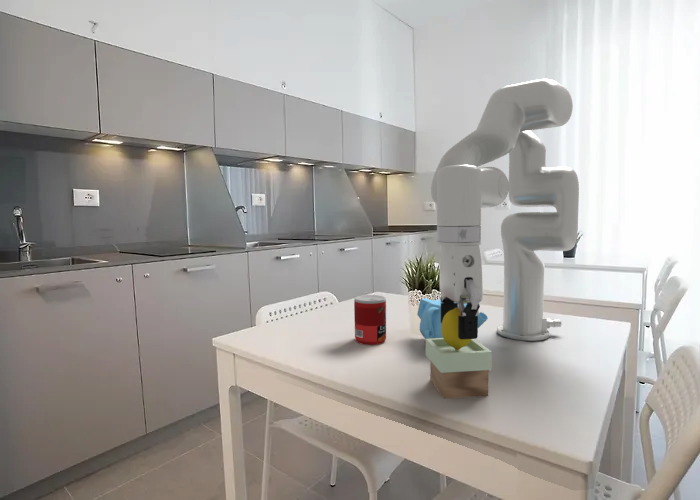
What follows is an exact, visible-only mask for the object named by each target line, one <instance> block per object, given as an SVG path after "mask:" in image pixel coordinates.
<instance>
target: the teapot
mask: <svg viewBox="0 0 700 500" xmlns="http://www.w3.org/2000/svg"><path fill="white" fill-rule="evenodd" d="M454 303H456V302H454ZM466 305H467V304H464V307H466ZM458 308H459V306H458ZM417 317H418V318H419V319H420V322H419V332H420V334H421V335H422V337H423V338H424V339H425V340H426V339H431V338H443V336H442V331H441V327H442V323H441V300H440V299H434V300H432V299H429V298H426V297H423V298H420V299H419V304H418V308H417ZM487 320H488V316H487V314H485V313H484V312H479V315H478V329H479V328H480V327H481V326H483V324H484V323H485V322H487Z"/></svg>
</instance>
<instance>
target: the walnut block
mask: <svg viewBox="0 0 700 500" xmlns="http://www.w3.org/2000/svg"><path fill="white" fill-rule="evenodd" d="M429 365H430V366H429V367H430V369H429V370H430V375H429V377H430V378H429V379H430V382H431V384H432V385H433V386H434V387H435V389H436V390H437V391H438V393H439V394H440V395H441V397H442V398H443V399H458V398H473V397H474V398H475V397H477V398H478V397H489V378H490V377H489V371H490V370H480V371H464V372H447V373H441V372H440V371H439V370H438V369H437V368H436V366H435V365H434V364H433V363H432V362H431V361H430V363H429Z"/></svg>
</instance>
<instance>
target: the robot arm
mask: <svg viewBox="0 0 700 500" xmlns="http://www.w3.org/2000/svg"><path fill="white" fill-rule="evenodd" d="M572 114H573V99H572V95H571V94H570V91H569V90H568V88H566V87H565V86H563V85H562V84H560V83H559V82H557V81H556V80H553V79H550V78H549V79H548V78H541V79H535V80H530V81H526V82H520V83H516V84H511V85H506V86H503V87H500V88H499V89H497V90H495V91H494V92H493V93H492V95H491V96H490V98H489V100H488V101H487V103H486V107H485V108H484V110H483V113H482V116H481V118H480V120H479V122H478V125H477V128H476V129H475V130H474V131H472V132H471V133H469V134H467V135H466V136H465V137H463V138H462V139H461V140H459V141H458V142H457V143H455V144H454V145H453V146H452V147H450V148H449V149H448V150H447V151H446V152H445V153H444V154H443V156H442V157H441V159H440V161H439V163H438V165H437V167H436V169H435V172H434V174H433V178H432V180H431V185H430V195H431V198H432V201H433V202H434V204H435V205H436V217H437V218H436V245H438V246H440V254H439V255H440V256H439V276H438V277H439V291H440V293H441V295H440V300H441V323H442V321H443V318H444V316H445V314H446V313H447V312H449V311H450V310H453V309H454V308H458V306H459V310H460V314H461V315H459V316H458V338H459V339H475V340H477V339H478V336H479V335H478V333H479V330H478V329H479V328H478V315H479V313H480V312H479V310H480V302H482V300H483V298H484V297H483V296H484V294H483V293H484V291H483V290H484V289H483V267H482V266H483V265H482V256H481V248H480V245H481V244H482V238H481V234H482V233H481V232H482V228H481V227H482V226H481V224H482V223H481V221H482V218H481V217H482V209H485V208H494V207H497V206H499V205H501V204H502V203H503V202H504V201H505V200H506V198H507V197H508V199H509V200H508V201H510V203H511V204H512V205H513V206H515V207H521V208H522V207H523V208H537V207H538V208H541V207H542V208H543V207H547V208H548V207H550V208H552V207H553V208H555V210H556V211H548V212H547V211H542V212H541V211H530V212H529V211H528V212H527V211H525V212H514V213H511V214H509V215H507V216H506V217H505V218H504V219H503V220H502V222H501V225H500V235H501V242H502V249H503V266H504V267H503V269H504V270H503V317H502V318H503V319H502V321H503V324H500V325H498V326H497V327H496V333H497V334H498V335H499V336H502V337H504V338H509V339H512V340H517V341H518V340H519V341H526V342H528V341H529V342H531V341H532V342H535V341H542V340H546V339H548V338H549V337H550V331H549V330H548V329H550V328H561V327H562V321H561V319H551V318H549V317H547V318H546V317H544V294H545V293H544V292H545V291H544V289H545V288H544V287H545V268H544V264H543V262H542V260H541V259H540V258H539V256H538V255H537V254H536V253H535V252H537V251H543V252H544V251H548V252H567V251H571V250H572V249H573V248H574V247H575V246H576V243H577V240H578V233H579V232H578V228H579V202H580V201H579V200H580V199H579V198H580V196H579V195H580V186H579V183H580V182H579V178H578V174H577V172H576V170H574V169H573V168H571V167H568V166H556V167H555V166H554V167H547V166H546V155H547V153H546V152H547V150H546V149H547V148H546V146H545V144H544V143H543V141H542V140H541V139H540V138H539V137H538V136H537V135H536V134H535V133H534V132H533V131H536V130H544V129H545V130H546V129H550V128H558V127H563V126H564V125H566V124H567V123H568V122H569V121H570V119H571V117H572ZM506 155H508V158H509V159H508V160H509V161H508V177H507V175H506V173H504V171H503V170H501V169H499V168H497V167H494V166H484V165H486V164H489V163H491V162H494V161H495V160H499V159H500V158H502V157H504V156H506ZM480 166H483V167H480ZM534 251H535V252H534ZM454 302H456V303H454ZM464 304H467V305H466V307H464Z"/></svg>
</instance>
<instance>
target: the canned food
mask: <svg viewBox="0 0 700 500" xmlns="http://www.w3.org/2000/svg"><path fill="white" fill-rule="evenodd" d="M353 304H354V307H353V311H354V339H355V342H357V343H358V344H360V345H366V346H377V345H378V346H379V345H381V344H384V343H385V342H386V339H387V300H386V297H385V296H383V295H375V294H364V295H363V294H362V295H358V296H355V297H354V303H353Z"/></svg>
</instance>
